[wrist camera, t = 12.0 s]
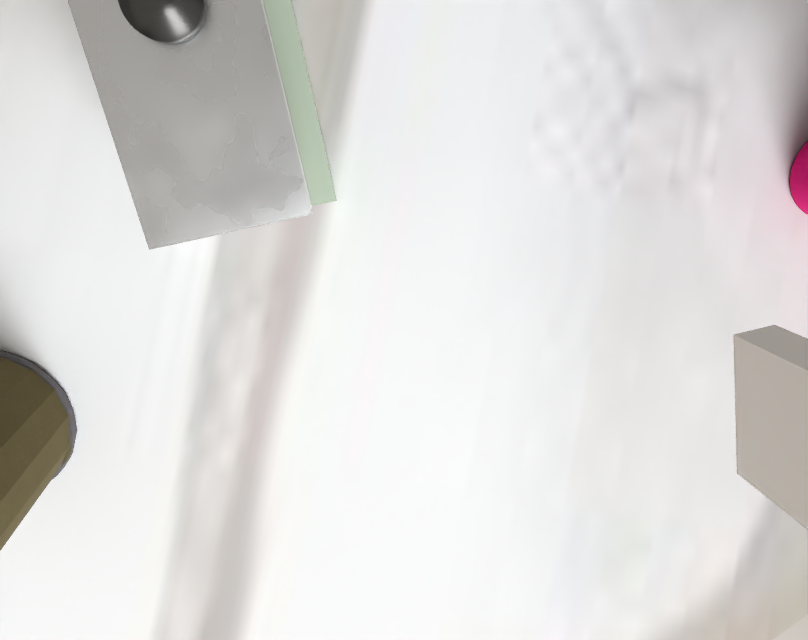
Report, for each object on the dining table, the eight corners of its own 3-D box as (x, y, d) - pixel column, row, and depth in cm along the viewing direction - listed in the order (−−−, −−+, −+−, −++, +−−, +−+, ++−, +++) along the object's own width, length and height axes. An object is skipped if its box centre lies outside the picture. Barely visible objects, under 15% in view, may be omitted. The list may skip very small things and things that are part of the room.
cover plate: (311, 204, 31) (312, 218, 27) (166, 235, 30) (142, 254, 26) (250, -49, 28) (240, -83, 23) (85, -19, 27) (42, -47, 23)
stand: (283, -30, 36) (280, -59, 31) (335, 197, 40) (340, 209, 35) (105, 3, 36) (67, -20, 30) (176, 232, 40) (155, 250, 34)
